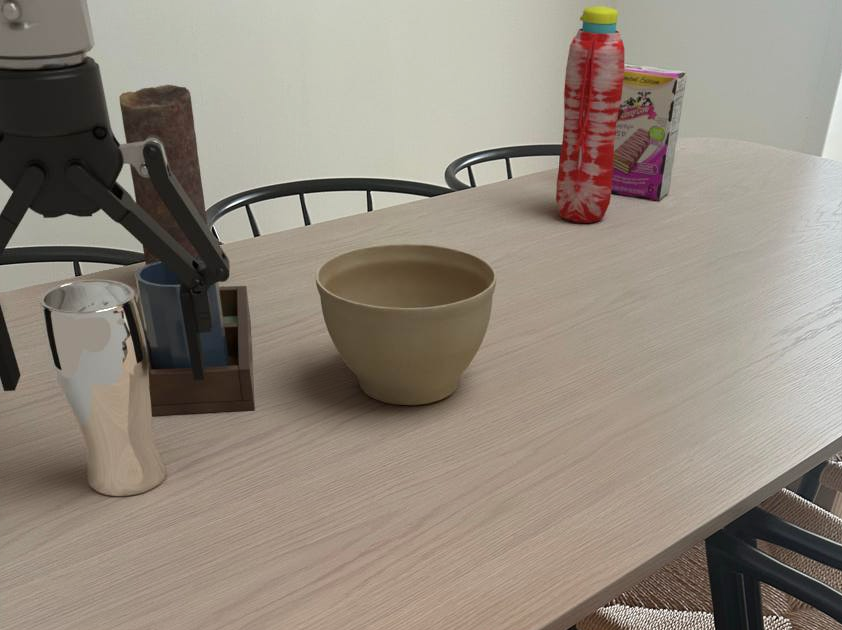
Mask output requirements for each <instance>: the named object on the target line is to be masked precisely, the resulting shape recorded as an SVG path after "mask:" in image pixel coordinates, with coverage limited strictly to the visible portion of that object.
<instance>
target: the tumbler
mask: <svg viewBox="0 0 842 630" xmlns="http://www.w3.org/2000/svg"><path fill="white" fill-rule="evenodd" d="M197 261H198V260H197ZM198 262H199V263H200V264H201V263H204V262H203V261H198ZM134 277H135V278H134V279H135V283H136V288H137V294H138V295H139V299H140V305H141V310H142V315H143V320H144V326H145V331H146V336H147V341H148V347H149V352H150V357H151V362H152V368H153V370H156V369H176V368H192V366H191V360H190V354H189V348H188V342H187V336H186V331H185V325H184V319H183V313H182V307H181V301H180V295H179V294H180V284H181V282H182V281H181V280H180V279H179V278H178V277H177V276H176V275H175V274H174V273H173V272H172V271H170V270H169V269H168V268H167V267H166V266H165V265H164V264H163V263H162V262H161V261H158V262H154V263H150V264H147V265H146V264H145V265H144V266H141V267H139V268H138V269H137V270H136V272H135V273H134ZM219 287H220V286H219V282H216V283H214V284H212V285H211V286H210V287H209V288H208V293H209V299H210V306H211V312H212V328H211V332H205V333H200V339H201V345H202V351H203V357H204V363H205V367H215V366H230V365H229V358H228V350H227V343H226V336H225V328H224V321H223V314H222V307H221V299H220V292H219Z"/></svg>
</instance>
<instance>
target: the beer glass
mask: <svg viewBox="0 0 842 630" xmlns="http://www.w3.org/2000/svg"><path fill="white" fill-rule="evenodd" d="M38 302H39V305H40V310H41V316H42V322H43V328H44V334H45V340H46V345H47V349H48V352H49V354H48V355H49V357H50V362H51V364H52V367H53V371H54V375H55V378H56V380H57V382H58V384H59V387H60V389H61V392H62V395H63V397H64V399H65V400H66V403H67V405H68V407H69V409H70V411H71V414H72V416H73V418H74V421H75V422H76V424H77V428H78V429H79V432H80V434H81V437H82V440H83V444H84V448H85V453H86V465H87V469H86V470H87V481H88V482H87V483H88V485H89V486H90V487H91V488H92V490H94V491H96V492H97V493H99V494H102V495H105V496H112V497H129V496H136V495H139V494H143V493H146V492H149V491H151V490H153V489H155V488H157V487H158V486H160V485H161V484H162V483H163V482H164V480H165V478H166V475H167V469H166V466H165V462H164V461H163V458H162V455H161V453H160V451H159V448H158V446H157V443H156V439H155V435H154V428H153V416H152V378H151V362H150V356H149V349H148V344H147V339H146V335H145V330H144V327H143V323H142V319H141V315H140V312H139V309H138V305H137V298H136V293H135V290H134V288H133V287H132V286H131V285H129V284H127V283H124V282H121V281H117V280H112V279H100V278H99V279H79V280H74V281H73V280H72V281H69V282H65V283H61V284H57V285H55V286H53V287H50V288H49V289H47V290H45V291H43V292H42V293H41V295H39V298H38Z"/></svg>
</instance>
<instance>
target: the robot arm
mask: <svg viewBox="0 0 842 630" xmlns="http://www.w3.org/2000/svg"><path fill="white" fill-rule="evenodd" d="M88 5H89V4H88V0H0V181H2V182H3V184H4V185H6V186H7V188H8V189H10V191H11V192H12V193H11V195H10V196H9V198H8V200H7V202H6V203H5V205H4V207H3V209H2V210H1V212H0V257H1V256H2V255H3V253H4V251H5V249H6V247H7V246H8V244H9V242H10V240H11V239H12V238H13V236H14V234H15V232H16V230H17V229H18V227H19V226H20V224H21V222H22V220H23V219H24V217H25V215H26V213H27V212H28V210H29V209H30V210H31V211H32V212H34V213H35V214H38V215H41V216H42V218H43V219H51V218H52V219H53V218H54V219H55V218H58V217H59V218H60V217H63V216H64V215H71V216H76V217H80V218H84V217H93V214H96V213H98V212H99V211H100V210H101V211H103V212H104V214H105V215H107V216H108V217H109V218H110V219H111V220H112V221H114V222H115V223H117V224H120V225H121V226H122V227H123V228H124V229H125V230H126V231H127V232H128V233H130V235H131V236H132V237H134V238H135V239H136V240H137V241H138V242H139V243H140V245H142V246H143V245H144V246H145V247H146V248H147V249H148V250H149V251H150V252H151V253H152V254H153V255H154V256H155V257H156V258H158V259H159V260H160V261H161V262H162V263H163V264H164V265H165V266H166V267H167V268H168V269H169V270H170V271H172V272H173V273H174V274H175V275H176V276H177V277H178V278H179V279H180V280H181V281H182V282H181V284H180V294H179V295H180V301H181V307H182V313H183V319H184V325H185V331H186V336H187V342H188V348H189V354H190V360H191V366H192V372H193V378H194V380H201V379H204V369H205V363H204V357H203V351H202V345H201V339H200V333H205V332H211V328H212V312H211V306H210V299H209V293H208V288H209V287H210V286H211V285H212V284H214V283H216V282H218V283H224V282H226V281H228V280H229V278H230V271H231V269H230V267H231V265H230V260H229V257H228V255H227V254H226V253H225V251H224V249H223V248H222V246H221V245H220V243H219V242H218V240H217V238H215V236H214V234H213V233H212V231H211V230H210V228H209V226H208V227H207V225H208V224H207V225H206V223H205V222H204V220H203V219H202V217H201V216H200V214H199V213H198V211H197V210H196V208H195V207H194V205H193V203H192V202H191V200H190V199H189V197H188V196H187V194H186V193H185V191H184V190H183V188H182V187H181V185H180V183H179V182H178V180H177V179H176V177H175V176H174V174H173V173H172V171H171V170H170V166H169V163H168V159H167V155H166V152H165V148H164V144H163V142H162V140H161V139H160V138H159V137H158V136H156V135H150V136H148V137H147V138H146V140H145V141H141V142H134V143H120V142H119V141H118V139H117V138H116V136H115V134H114V132H113V129H112V126H111V125H112V124H111V121H110V116H109V115H110V114H109V110H108V109H109V108H108V105H107V99H106V96H105V95H106V94H105V89H104V84H103V78H102V74H101V69H100V68H101V67H100V65H99V63H98V62H96V60H95V59H94V58H93V57H91V56H88V52H91V50H92V49H93V48H94V46H95V43H96V42H95V38H94V33H93V27H92V22H91V15H90V10H89V7H88ZM125 164H126V165H127V164H128V165H130V164H131V165H132V166H134V167H135V169H136V170H137V172H138V174H139V175H140V176H142V177H144V178H150V179H151V182H152V184H153V186H154V188H155V190H156V192H157V193H158V195H159V196H160V198H161V199H162V201H163V202H164V204H165V205H166V207H167V208H168V210H169V211H170V213H171V214H172V216H173V217H174V219H175V220H176V222H177V223H178V225H179V226H180V228H181V229H182V231H183V232H184V234H185V235H186V237H187V238H188V240H189V241H190V243H191V244H192V246H193V247H194V249H195V250H196V252H197V253H198V255H199V256H200V258H201V259H202V261H203V262H204V263H201V264H200V263H199V262H198V261H197V260H195V259H194V258H193V257H192V256H191V255H190V254H189V253H188V252H187V251H186V250H185V249H184V248H183V247H182V246H181V245H180V244H179V243H178V242H177V241H176V240H175V239H173V238H172V237H171V236H170V235H169V234H168V233H167V232H166V231H165V230H164V229H163V228H162V227H161V226H160V225H159V224H158V223H157V222H156V221H155V220H154V219H152V218H151V217H150V216H149V215H148V214H147V213H146V212H145V211H144V210H143V209H142V208H141V207H140V206H139V205H138V204H137V203H136V200H134V198H133V196H132V195H131V194H130V193H129V192H128V191H127V190H126V189H125V188H124V187H123V186H122V185H121V184H120V183H118V181H117V180H118V177H119V176H120V175H121V172H122V170H123V167H124V165H125ZM3 312H4V311H3V308H2V305H1V304H0V382H1V386H2V390H3V391H4V392H13V391H16V389H17V386H18V383H19V381H20V378H21V372H20V371H21V370H20V368H19V363H18V361H17V358H16V354H15V350H14V347H13V343H12V339H11V336H10V333H9V329H8V325H7V323H6V320H5V319H6V318H5V315H4V313H3Z"/></svg>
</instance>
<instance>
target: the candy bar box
mask: <svg viewBox="0 0 842 630" xmlns="http://www.w3.org/2000/svg"><path fill="white" fill-rule="evenodd" d="M687 74H688V73H687V71H684V70H677V69H669V68H661V67H654V66H647V65H639V64H632V63H625V62H624V79H623V88H622V97H621V102H620V108H621V110H622V111H623V112H624V113H623V114H622V116H621V117H620V118H619V120H618V121H617V123H616V132H615V140H614V158H613V179H612V189H611V194H616V195H622V196H627V197H628V196H629V197H633V198H639V199H645V200H651V201H657V202H659V201H661V200H662V199H664V197H666V196H667V195H668V194H669V193H670V189H671V180H672V175H673V167H674V161H675V154H676V148H677V147H676V146H677V141H678V134H679V128H680V122H681V121H680V120H681V114H682V108H683V103H684V95H685V89H686V82H687V76H688V75H687Z"/></svg>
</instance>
